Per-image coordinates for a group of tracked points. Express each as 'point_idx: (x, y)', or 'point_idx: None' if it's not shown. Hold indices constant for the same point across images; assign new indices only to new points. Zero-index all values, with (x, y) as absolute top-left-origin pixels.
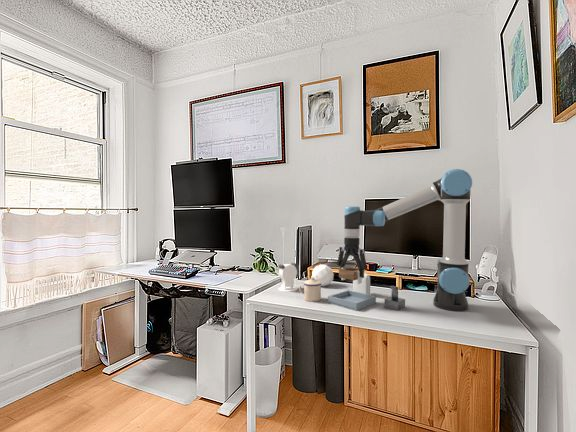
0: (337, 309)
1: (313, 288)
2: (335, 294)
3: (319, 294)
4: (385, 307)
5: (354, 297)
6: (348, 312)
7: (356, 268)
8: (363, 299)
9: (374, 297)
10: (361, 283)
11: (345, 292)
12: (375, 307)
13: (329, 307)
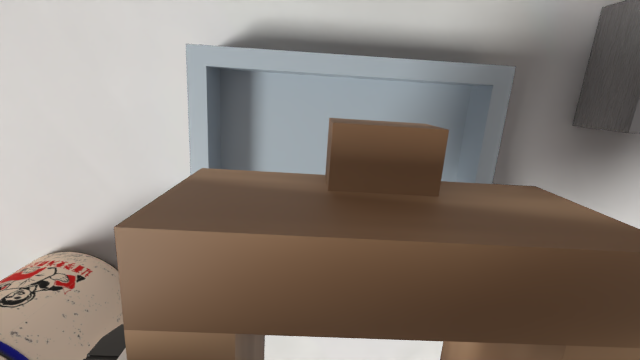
0: (336, 354)
1: None
2: None
3: (112, 329)
4: (580, 125)
5: (300, 96)
6: (415, 355)
7: (418, 254)
8: (387, 96)
9: (506, 91)
10: None
11: (209, 115)
12: (516, 170)
13: (278, 355)
